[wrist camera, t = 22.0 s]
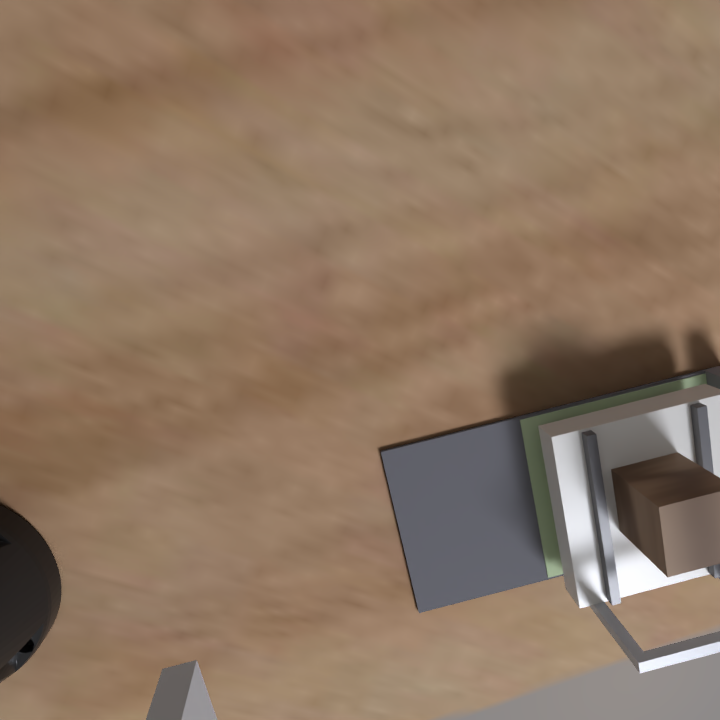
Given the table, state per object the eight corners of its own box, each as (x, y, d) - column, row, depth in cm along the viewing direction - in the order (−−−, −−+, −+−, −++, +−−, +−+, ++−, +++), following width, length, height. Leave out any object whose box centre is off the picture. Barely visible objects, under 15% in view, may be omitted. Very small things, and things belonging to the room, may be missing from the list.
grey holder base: (418, 610, 49) (427, 643, 46) (380, 450, 46) (387, 471, 42) (736, 527, 50) (773, 552, 46) (721, 365, 47) (759, 377, 43)
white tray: (558, 584, 49) (623, 677, 39) (529, 418, 46) (593, 472, 36) (708, 545, 50) (812, 627, 40) (690, 378, 47) (798, 420, 36)
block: (619, 531, 44) (667, 577, 38) (610, 469, 43) (658, 507, 37) (684, 514, 44) (742, 557, 38) (677, 452, 43) (735, 487, 37)
